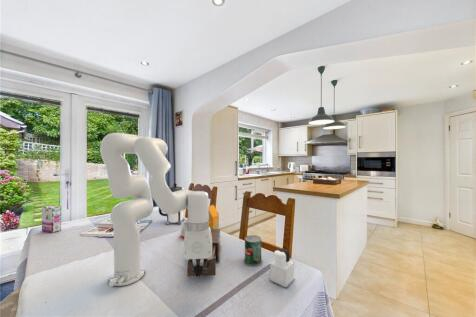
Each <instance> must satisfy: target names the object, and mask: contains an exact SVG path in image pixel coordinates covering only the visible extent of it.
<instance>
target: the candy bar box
mask: <svg viewBox="0 0 476 317" xmlns="http://www.w3.org/2000/svg"><path fill="white" fill-rule="evenodd" d="M61 218H62V206H60V205H45V206H42V207H41V231H42V232H46V233H52V234H53V233H56V232H60V231H62V229H61V228H62V219H61Z"/></svg>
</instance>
